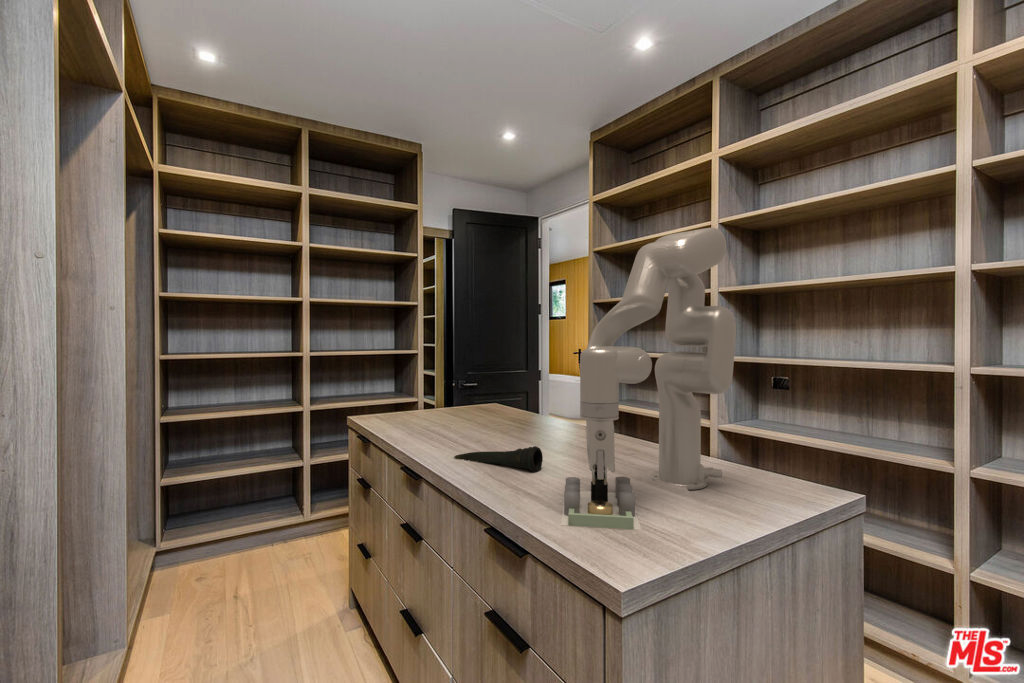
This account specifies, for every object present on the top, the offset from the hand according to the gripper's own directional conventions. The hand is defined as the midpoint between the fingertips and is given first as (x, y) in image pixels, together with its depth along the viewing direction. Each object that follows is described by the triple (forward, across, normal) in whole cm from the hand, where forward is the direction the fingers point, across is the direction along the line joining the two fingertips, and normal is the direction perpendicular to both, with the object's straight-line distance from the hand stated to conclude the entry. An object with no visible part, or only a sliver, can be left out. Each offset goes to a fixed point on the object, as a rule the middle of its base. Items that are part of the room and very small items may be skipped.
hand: (599, 502), depth 95 cm
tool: (+3, +34, +27) cm, 43 cm away
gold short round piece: (+1, -6, 0) cm, 6 cm away
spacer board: (+2, 0, 0) cm, 2 cm away
